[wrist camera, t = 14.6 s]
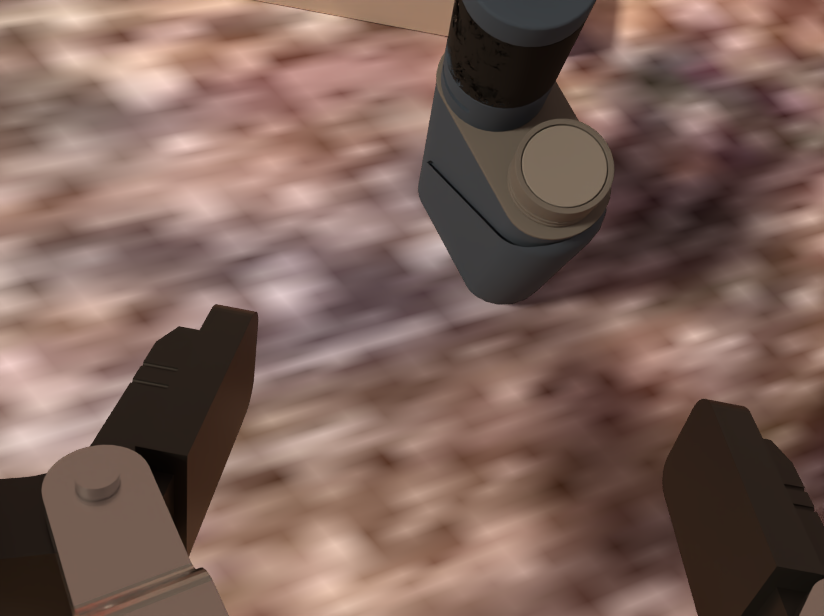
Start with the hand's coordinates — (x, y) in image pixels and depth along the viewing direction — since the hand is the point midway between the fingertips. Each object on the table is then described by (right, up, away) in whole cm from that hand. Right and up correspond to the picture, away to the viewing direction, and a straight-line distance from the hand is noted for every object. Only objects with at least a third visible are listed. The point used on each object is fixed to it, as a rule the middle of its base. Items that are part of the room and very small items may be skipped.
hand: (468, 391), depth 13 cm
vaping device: (+1, +4, +10) cm, 10 cm away
